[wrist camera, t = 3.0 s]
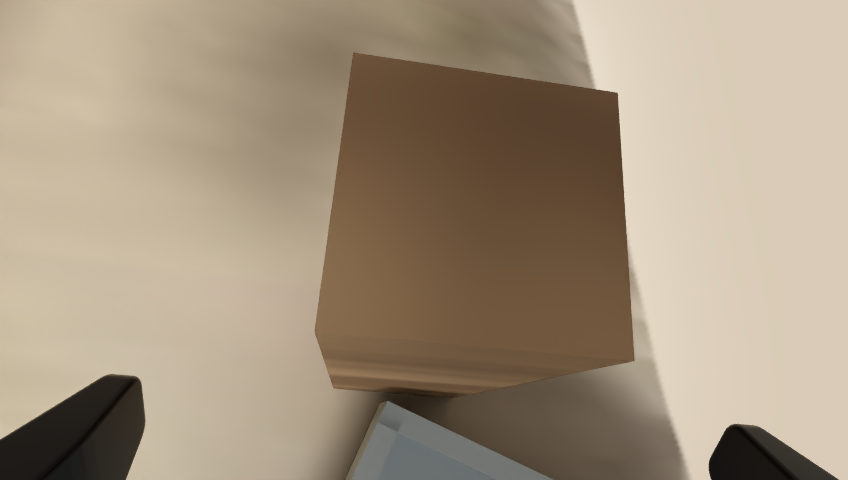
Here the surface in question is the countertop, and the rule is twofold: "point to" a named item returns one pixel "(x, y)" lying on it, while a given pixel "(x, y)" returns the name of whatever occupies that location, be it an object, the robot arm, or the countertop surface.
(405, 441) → the tray
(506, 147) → the brown block
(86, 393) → the robot arm
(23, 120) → the countertop surface
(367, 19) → the countertop surface
